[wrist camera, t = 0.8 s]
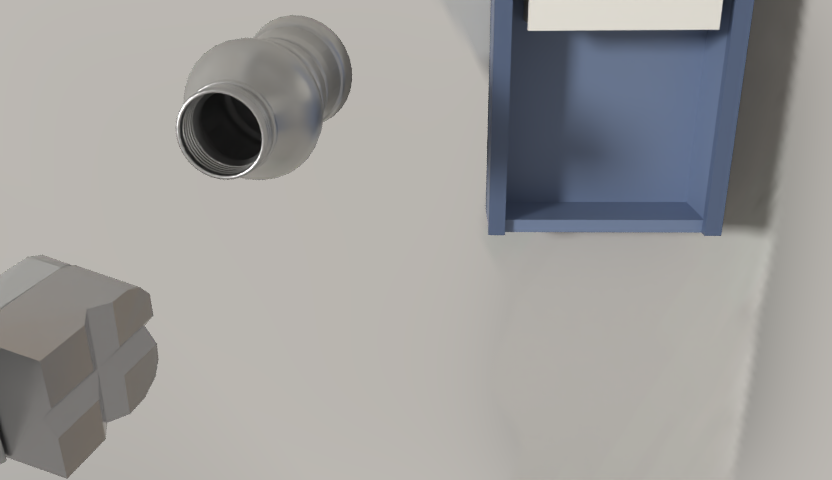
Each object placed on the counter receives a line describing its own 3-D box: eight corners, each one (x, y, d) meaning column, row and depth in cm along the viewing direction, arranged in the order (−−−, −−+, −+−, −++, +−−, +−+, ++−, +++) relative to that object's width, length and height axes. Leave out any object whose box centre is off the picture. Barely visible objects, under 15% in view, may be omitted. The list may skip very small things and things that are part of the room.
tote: (492, -152, 44) (499, -165, 39) (741, -155, 43) (778, -170, 38) (484, 209, 51) (488, 234, 47) (694, 209, 51) (720, 235, 46)
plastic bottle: (324, -7, 47) (245, 16, 28) (374, 91, 49) (332, 174, 30) (236, 41, 48) (104, 94, 29) (289, 134, 50) (197, 240, 31)
